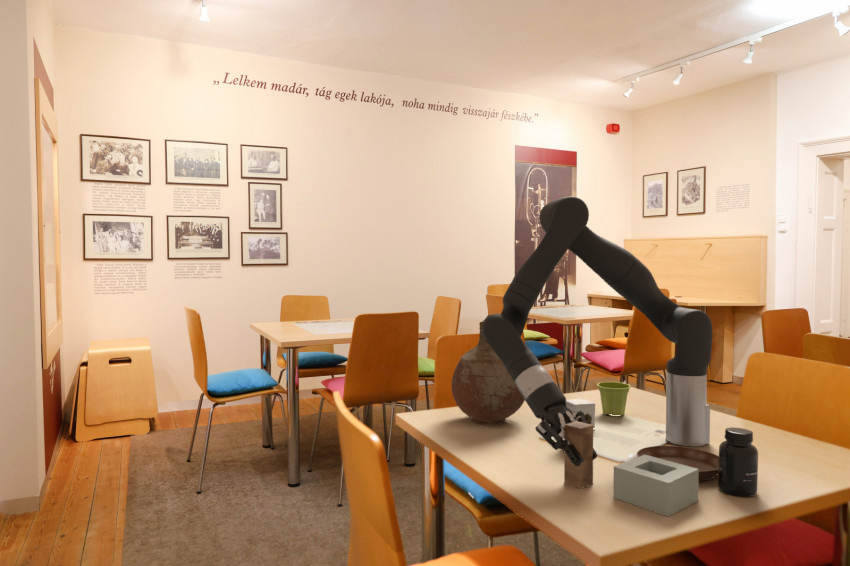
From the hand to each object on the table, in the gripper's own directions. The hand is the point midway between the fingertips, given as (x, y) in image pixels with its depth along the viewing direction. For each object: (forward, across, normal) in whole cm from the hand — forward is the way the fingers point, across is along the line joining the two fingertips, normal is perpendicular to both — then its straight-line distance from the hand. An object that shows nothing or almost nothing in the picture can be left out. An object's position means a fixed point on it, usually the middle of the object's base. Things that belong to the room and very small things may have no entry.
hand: (586, 461), depth 119 cm
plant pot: (-17, +54, +24) cm, 61 cm away
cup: (-8, +19, +15) cm, 26 cm away
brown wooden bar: (+2, 0, +5) cm, 5 cm away
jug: (-29, +20, +37) cm, 51 cm away
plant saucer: (+9, +24, -1) cm, 25 cm away
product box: (-15, +34, +22) cm, 43 cm away
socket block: (+12, +4, -5) cm, 14 cm away
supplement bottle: (+18, +21, -11) cm, 29 cm away
